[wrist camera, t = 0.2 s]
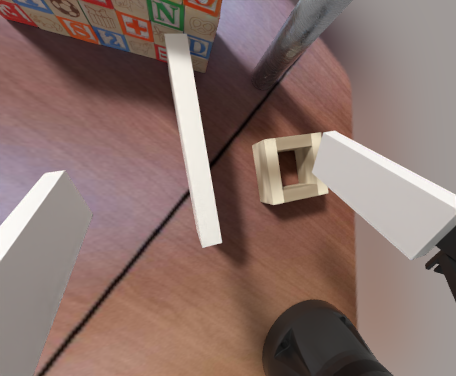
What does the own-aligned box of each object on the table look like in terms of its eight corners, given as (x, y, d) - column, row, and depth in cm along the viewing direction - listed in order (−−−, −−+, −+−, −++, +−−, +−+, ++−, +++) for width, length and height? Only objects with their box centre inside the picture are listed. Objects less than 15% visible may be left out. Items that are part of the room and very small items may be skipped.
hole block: (308, 191, 30) (328, 193, 26) (260, 201, 28) (273, 205, 24) (302, 138, 29) (320, 132, 25) (252, 145, 27) (263, 139, 23)
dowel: (274, 89, 28) (364, 0, 14) (253, 90, 27) (327, -2, 13) (271, 66, 27) (359, -48, 14) (249, 66, 27) (321, -52, 13)
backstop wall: (211, 226, 26) (222, 242, 19) (196, 230, 26) (202, 247, 19) (185, 74, 25) (186, 33, 18) (168, 74, 24) (164, 33, 17)
